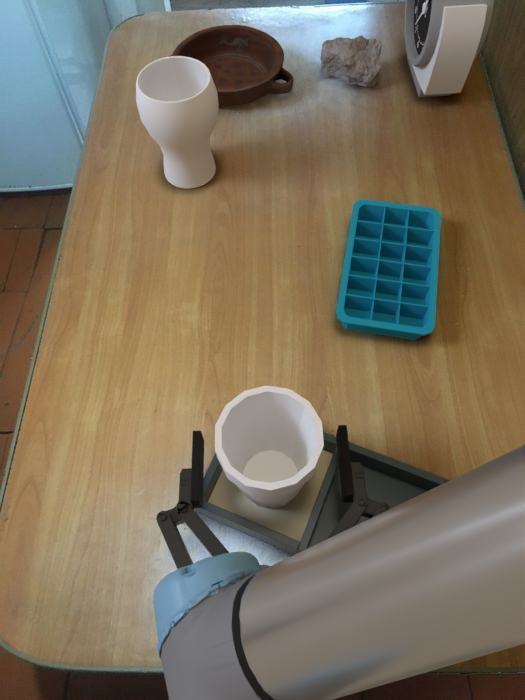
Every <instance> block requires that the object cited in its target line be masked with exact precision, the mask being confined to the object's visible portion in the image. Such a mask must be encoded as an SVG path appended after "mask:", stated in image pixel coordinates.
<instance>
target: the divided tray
mask: <svg viewBox="0 0 525 700" xmlns="http://www.w3.org/2000/svg"><path fill="white" fill-rule="evenodd" d="M323 440H324V447H323V452H322V456H321V458H320V460H319V463H318V465H317V468H316V470H315V473H314V475H313V476H312V477H311V478H310V479H309V480H308V481H307V482H306V483H305V484H304V486H303V487H302V488H301V490H300V491H299V493H298V494H297V495H296V497H295V498H294V499H292V500H291V501H290V502H289V503H288V504H287V505H286V506H283V507H279V508H275V509H267V508H262V507H258V506H257V505H255V504H254V503H253V502H251V501H250V500H249V499H248V498H246V496H245V495H244V494H243V493H242V492H241V490H240V489H239V488H238V487H237V486H236V485H235V484H234V483H233V482H231V481H230V480H229V479H228V478H227V476H226V474H225V472H224V470H223V468H222V466H221V464H220V462H219V460H218V458H217V455H216V452H215V453H214V455H213V457H212V460H211V461H210V463H209V466H208V467H207V469H206V472H205V474H204V475H203V508H194V511H195V512H196V513H197V514H199V515H202V516H203V517H206V518H208V519H210V520H213V521H215V522H217V523H219V524H222V525H224V526H227V527H229V528H231V529H233V530H236V531H238V532H240V533H243V534H245V535H248V536H249V537H252V538H254V539H256V540H259V541H261V542H263V543H265V544H268V545H270V546H273V547H275V548H276V549H279V550H282V551H284V552H285V553H289V554H291V555H292V556H293V555H295V554H297V553H299V552H302V551H304V550H306V549H308V548H310V547H312V546H314V545H316V544H318V543H320V542H322V541H325V540H327V538H328V537H329V535H330V534H331V532H332V531H333V530H334V528H335V527H336V525H337V524H338V523H339V521H340V520H341V518H342V517H343V516H344V514H345V513H346V511H347V510H348V509H349V507H350V506H351V504H352V502H349V503H343V500H342V490H341V480H340V471H339V461H338V451H337V441H336V435H333V434H329V433H327V432H324V431H323ZM348 442H349V451H350V460H351V462H361V464H362V466H363V470H364V478H365V486H366V494H367V496H368V498H369V499H371V500H372V501H375V502H378V503H382V502H383V503H386V504H388V506H389V507H390V509H391V508H393V507H396V506H398V505H400V504H402V503H404V502H406V501H408V500H410V499H412V498H414V497H416V496H419V495H421V494H423V493H425V492H427V491H429V490H431V489H433V488H435V487H437V486H439V485H442V484H444V483H446V482H448V481H450V480H451V479H448V478H445V477H443V476H440V475H436V474H435V473H432V472H429V471H426V470H424V469H422V468H419V467H416V466H413V465H411V464H409V463H405V462H403V461H400V460H398V459H395V458H393V457H390V456H387V455H386V454H385V455H384V454H382V453H380V452H377V451H374V450H371V449H370V448H369V449H368V448H366V447H363V446H361V445H358V444H355V443H353V442H350V441H348ZM368 519H370V518H367V517H364V516H362V517H361V518H360V519H359V521H358V522H357V524H356V525H358V524H360V523H362V522H364V521H366V520H368ZM356 525H355V526H356Z"/></svg>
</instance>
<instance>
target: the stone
mask: <svg viewBox="0 0 525 700" xmlns="http://www.w3.org/2000/svg"><path fill="white" fill-rule="evenodd" d="M382 47H383V43H382V41H381V40H378V39H376V38H375V37H373V38H365V37H364V36H363V35H359V36H356V37H354V38H350V37H335V38H333V39H326V40H324V41H323V43H322V44H321V50H320V74H321V75H322V76H323V77H326V78H328V77H336V78H337V79H339V80H341V81H342V82H344V83H345V84H348V85H350V86H356V85H358V86H359V87H364V88H369V87H370V88H371V87H373V86H374V85H376V84H377V81H378V80H379V78H380V75H381V72H382V66H381V60H380V57H381V53H382Z"/></svg>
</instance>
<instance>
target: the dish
mask: <svg viewBox="0 0 525 700" xmlns="http://www.w3.org/2000/svg"><path fill="white" fill-rule="evenodd" d="M170 56H185V57H191V58H194V59H196V60H199V61H200V62H202V63H203V64H205V65H206V67H207V68H208V69H209V71H210V74H211V76H212V79H213V82H214V84H215V87H216V90H217V95H218V104H219V107H240V106H245V105H250V104H252V103H254V102H258V101H259V100H261V99H263V98H264V97H266V96H267V95H285V94H290V92H292V90H293V87H294V79H295V78H294V76H293V74H292V72H291V73H290V71H288V70H286V69H285V68H284V61H285V52H284V49H283V47H282V45H281V44H280V43H279V41H278V40H277V39H276V38H274V37H273V36H272V35H270V34H268V33H267V32H265V31H263V30H261V29H258V28H255V27H252V26H249V25H248V26H247V25H241V24H223V25H215V26H210V27H207V28H204V29H201V30H198V31H196V32H194V33H192V34H191V35H189V36H188V37H186V38H185V39H184V40H182V41H181V42H180V43H179V44H178V45H177V46H176V47H175V48H174V50H173V52H172V54H170V55H169V56H168V57H170ZM278 81H284V82H278Z"/></svg>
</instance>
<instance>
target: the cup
mask: <svg viewBox="0 0 525 700" xmlns="http://www.w3.org/2000/svg"><path fill="white" fill-rule="evenodd" d="M169 56H170V55H169ZM169 56H165V57H161V58H158V59H156V60H155V59H154V60H153V61H151V62H150V63H148V64H146V65H145V66H144V67H142V69H141V70H140V71H139V72H138V74H137V76H136V82H135V102H136V107H137V110H138V115H139V118H140V122H141V124H142V125H143V127H144V128H145V130H146V131H147V132H148V134H149V136H150V137H151V138H152V139H153V141H155V142H156V143H157V144H158V145H159V147H160V150H161V153H162V157H163V158H162V159H163V175H164V177H165V179H166V180H167V182H168V183H169V184H171V185H172V186H174V187H176V188H179V189H180V188H181V189H196V188H199V187H202V186H204V185H206V184H207V183H209V182H210V181H211V180H212V179H213V178H214V176H215V174H216V172H217V171H216V170H217V166H216V162H215V159H214V155H213V153H212V150H211V136H212V134H213V132H214V130H215V128H216V124H217V121H218V115H219V107H220V106H219V104H218V95H217V90H216V87H215V84H214V82H213V79H212V76H211V74H210V71H209V69H208V68H207V67H206V65H205V64H203V63H202V62H200V61H199V60H196V59H194V58H191V57H185V56H170V57H169Z"/></svg>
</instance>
